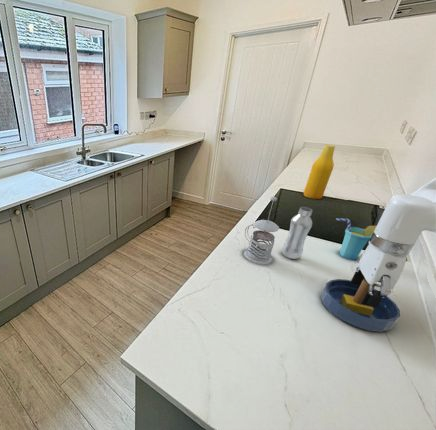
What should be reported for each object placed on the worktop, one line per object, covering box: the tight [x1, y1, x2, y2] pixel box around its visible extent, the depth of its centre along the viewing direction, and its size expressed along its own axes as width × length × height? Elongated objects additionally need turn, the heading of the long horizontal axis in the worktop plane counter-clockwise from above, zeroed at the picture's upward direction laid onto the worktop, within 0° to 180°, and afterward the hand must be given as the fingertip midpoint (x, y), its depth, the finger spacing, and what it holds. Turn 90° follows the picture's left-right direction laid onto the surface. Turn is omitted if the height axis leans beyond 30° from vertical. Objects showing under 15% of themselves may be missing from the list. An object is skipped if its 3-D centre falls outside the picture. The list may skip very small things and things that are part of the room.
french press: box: [243, 196, 280, 265], centre depth 96 cm, size 10×12×25 cm
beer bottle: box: [303, 144, 336, 200], centre depth 145 cm, size 9×9×29 cm
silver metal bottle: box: [281, 206, 313, 260], centre depth 96 cm, size 6×7×20 cm
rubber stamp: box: [341, 279, 374, 316], centre depth 74 cm, size 6×4×10 cm, turn 64°
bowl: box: [320, 278, 401, 333], centre depth 76 cm, size 16×16×4 cm
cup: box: [335, 217, 377, 261], centre depth 97 cm, size 14×8×15 cm, turn 63°
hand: (362, 294), depth 74 cm, fingers open, 8 cm apart
